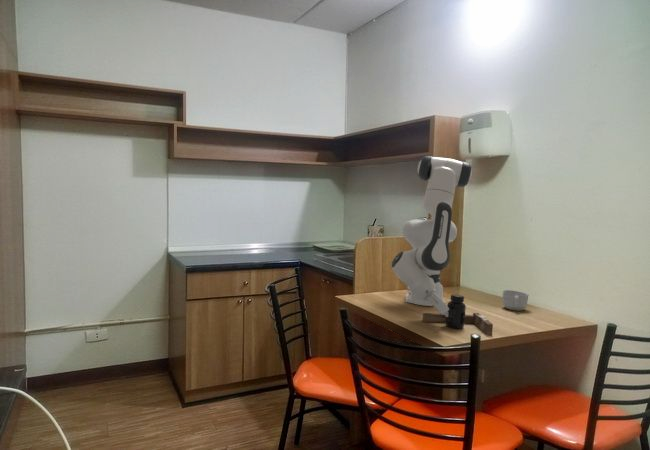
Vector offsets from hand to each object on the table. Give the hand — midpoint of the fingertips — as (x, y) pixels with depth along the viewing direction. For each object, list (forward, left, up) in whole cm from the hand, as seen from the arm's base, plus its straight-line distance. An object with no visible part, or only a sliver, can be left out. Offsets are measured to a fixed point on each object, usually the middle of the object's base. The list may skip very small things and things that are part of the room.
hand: (447, 315), depth 175 cm
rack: (0, +3, -4) cm, 5 cm away
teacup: (-32, +39, -5) cm, 51 cm away
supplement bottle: (0, +3, -4) cm, 5 cm away
